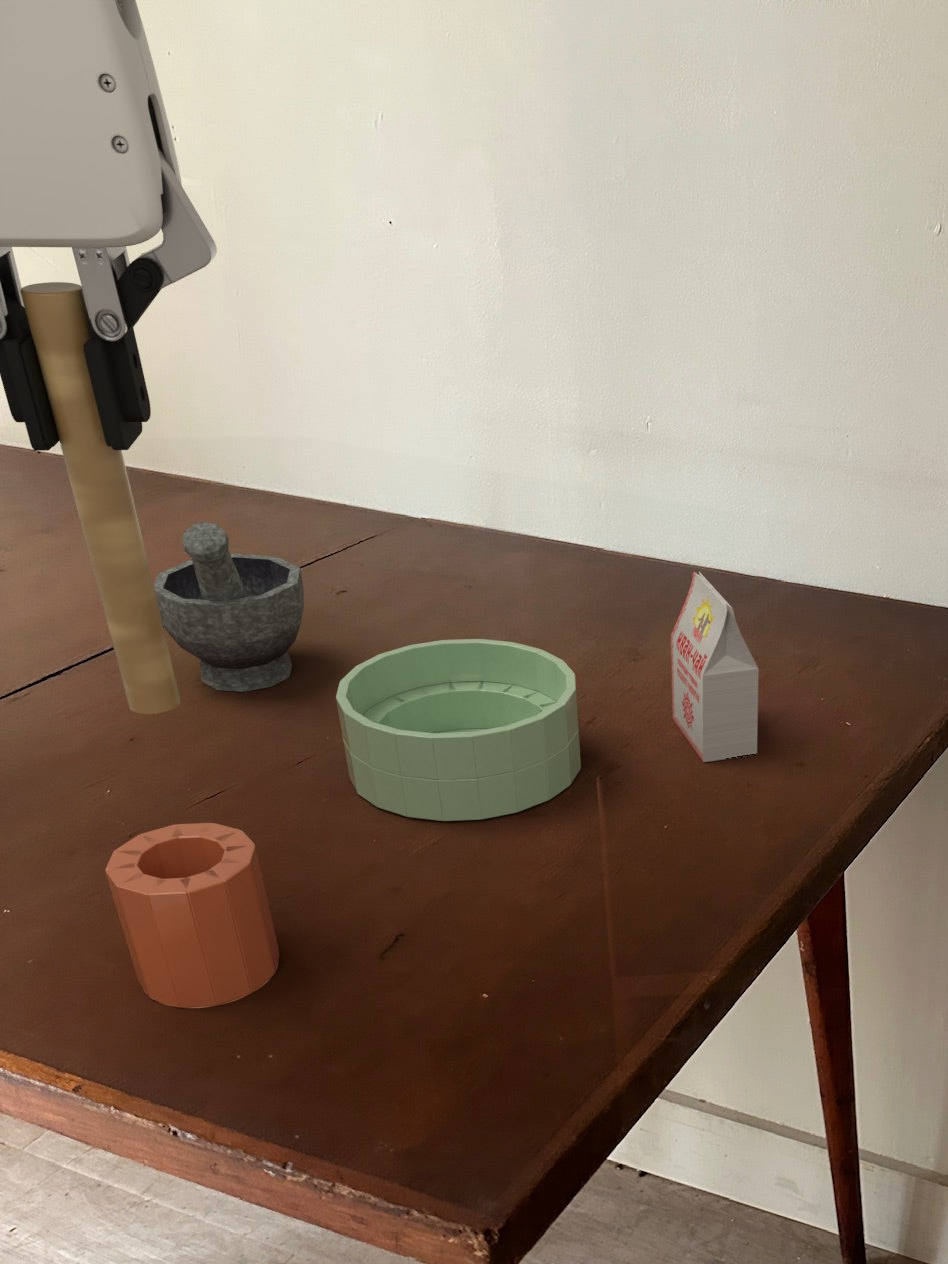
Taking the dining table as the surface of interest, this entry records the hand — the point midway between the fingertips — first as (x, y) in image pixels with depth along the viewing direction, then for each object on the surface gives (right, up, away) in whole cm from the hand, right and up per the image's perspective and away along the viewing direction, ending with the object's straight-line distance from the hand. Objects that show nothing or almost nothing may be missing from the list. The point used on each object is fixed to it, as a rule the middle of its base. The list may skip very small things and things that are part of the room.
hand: (88, 437), depth 57 cm
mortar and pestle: (-10, +1, +44) cm, 45 cm away
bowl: (+8, -8, +33) cm, 35 cm away
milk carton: (+24, -5, +38) cm, 45 cm away
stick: (0, -9, +7) cm, 12 cm away
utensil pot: (-1, -21, +15) cm, 26 cm away
